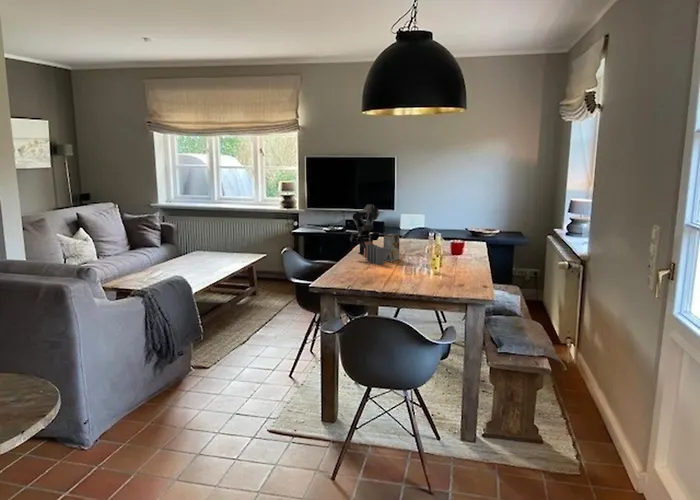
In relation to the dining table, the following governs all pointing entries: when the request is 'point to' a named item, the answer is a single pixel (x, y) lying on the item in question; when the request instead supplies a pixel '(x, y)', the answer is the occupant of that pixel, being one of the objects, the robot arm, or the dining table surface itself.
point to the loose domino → (366, 249)
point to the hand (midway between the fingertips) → (368, 247)
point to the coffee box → (391, 247)
